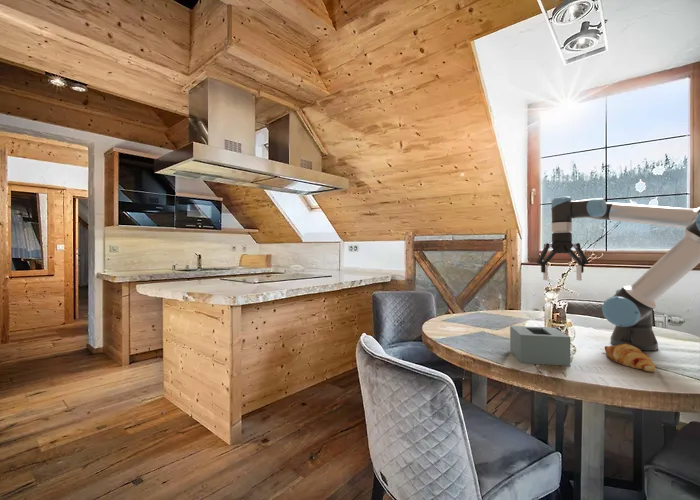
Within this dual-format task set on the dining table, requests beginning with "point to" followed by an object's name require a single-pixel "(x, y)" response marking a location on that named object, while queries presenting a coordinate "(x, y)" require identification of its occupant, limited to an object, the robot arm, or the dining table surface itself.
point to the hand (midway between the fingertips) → (562, 280)
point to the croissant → (630, 357)
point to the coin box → (540, 345)
